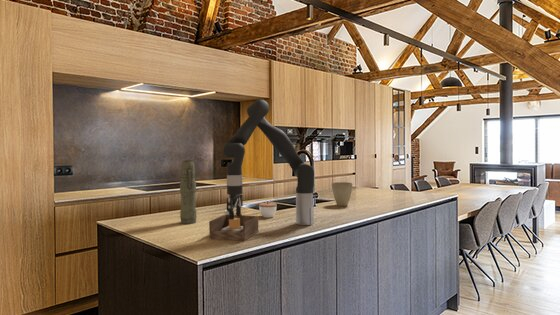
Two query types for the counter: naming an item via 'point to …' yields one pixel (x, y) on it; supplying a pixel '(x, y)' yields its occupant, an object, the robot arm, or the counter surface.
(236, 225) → the orange rectangular block
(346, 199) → the plant pot
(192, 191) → the thermos
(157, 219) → the counter surface
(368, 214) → the counter surface
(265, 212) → the lidded jar
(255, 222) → the inlet box
